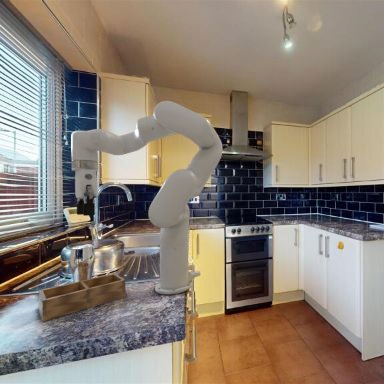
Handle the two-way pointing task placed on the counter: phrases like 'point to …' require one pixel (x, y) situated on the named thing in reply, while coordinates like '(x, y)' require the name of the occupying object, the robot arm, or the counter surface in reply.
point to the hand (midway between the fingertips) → (85, 214)
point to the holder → (80, 295)
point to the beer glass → (82, 262)
